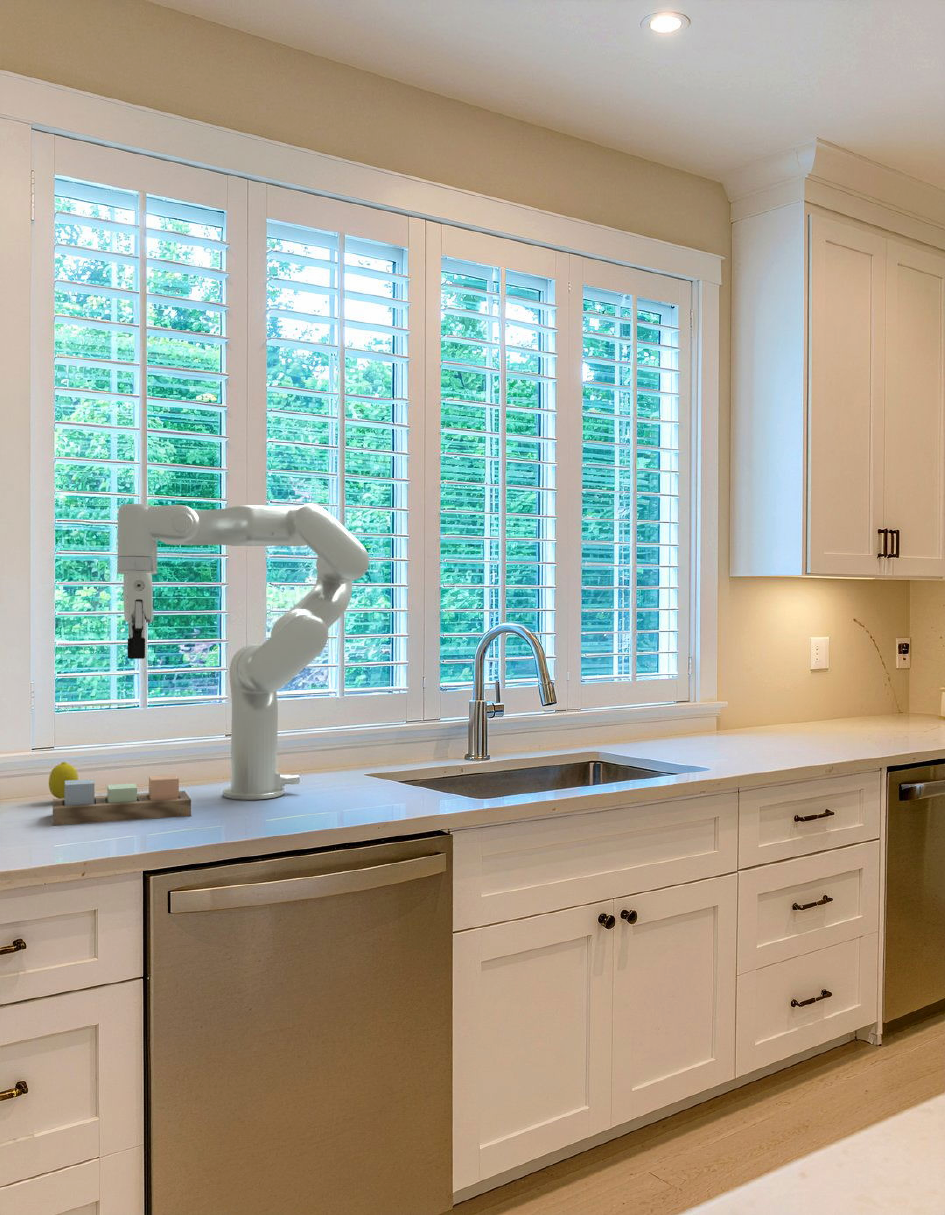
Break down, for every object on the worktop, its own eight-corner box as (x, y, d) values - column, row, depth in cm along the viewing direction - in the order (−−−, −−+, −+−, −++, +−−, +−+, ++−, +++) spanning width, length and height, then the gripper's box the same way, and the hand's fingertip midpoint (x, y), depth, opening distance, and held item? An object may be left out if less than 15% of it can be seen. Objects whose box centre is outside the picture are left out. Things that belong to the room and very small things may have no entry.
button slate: (93, 805, 186) (93, 779, 186) (94, 810, 181) (94, 783, 181) (64, 807, 184) (64, 780, 184) (64, 812, 179) (65, 785, 179)
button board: (184, 806, 195) (184, 790, 195) (190, 815, 186) (191, 799, 186) (52, 814, 185) (52, 798, 185) (52, 825, 176) (53, 808, 176)
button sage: (134, 809, 189) (135, 783, 189) (136, 814, 184) (137, 787, 184) (107, 811, 187) (107, 785, 187) (108, 816, 182) (108, 789, 182)
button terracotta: (175, 800, 192) (175, 774, 192) (178, 805, 187) (178, 778, 187) (148, 802, 190) (148, 776, 190) (151, 806, 185) (151, 780, 185)
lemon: (69, 798, 202) (69, 759, 202) (83, 801, 199) (83, 761, 199) (43, 801, 198) (43, 762, 198) (57, 805, 194) (57, 765, 194)
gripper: (160, 565, 191) (159, 660, 191) (153, 568, 205) (152, 656, 204) (119, 564, 188) (118, 660, 188) (115, 567, 202) (113, 657, 202)
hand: (136, 658), depth 196 cm, fingers closed
